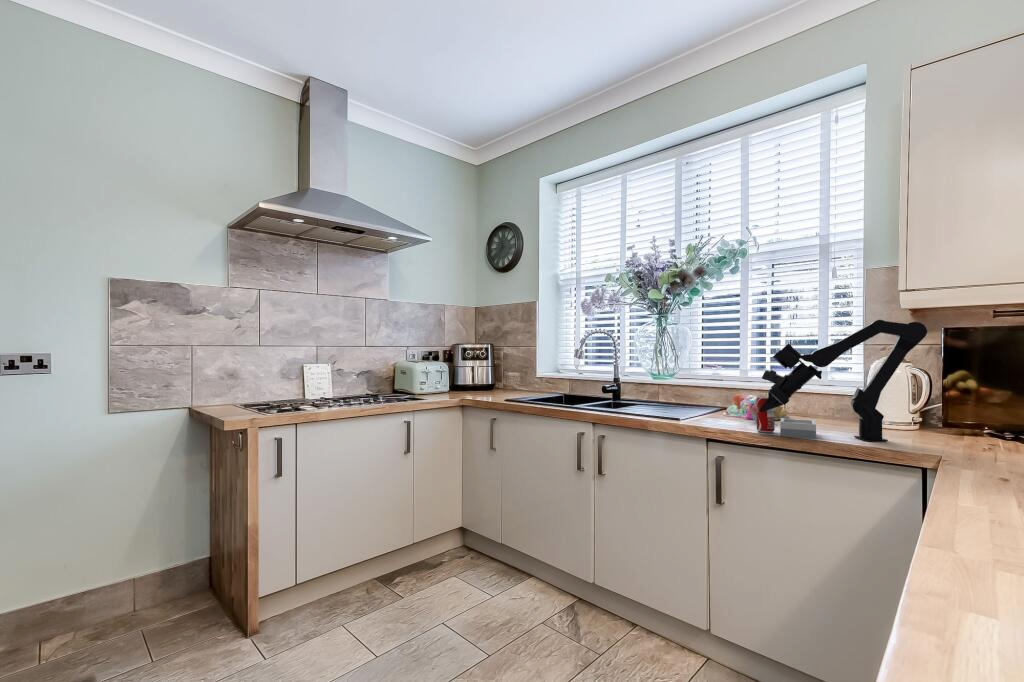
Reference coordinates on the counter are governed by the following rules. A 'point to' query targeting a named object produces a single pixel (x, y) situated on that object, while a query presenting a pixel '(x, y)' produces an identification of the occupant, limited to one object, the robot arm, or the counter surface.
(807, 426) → the socket block
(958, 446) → the counter surface
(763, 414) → the soda can
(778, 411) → the colorful dessert platter
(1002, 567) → the counter surface
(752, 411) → the cupcake
